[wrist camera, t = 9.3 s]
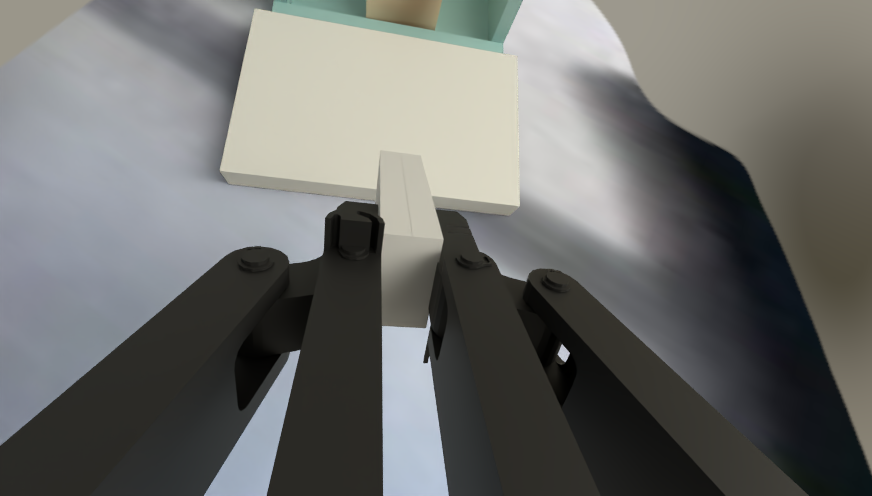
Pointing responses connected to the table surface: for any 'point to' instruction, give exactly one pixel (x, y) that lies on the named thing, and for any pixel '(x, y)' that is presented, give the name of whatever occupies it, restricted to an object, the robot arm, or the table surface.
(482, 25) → the box
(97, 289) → the table surface
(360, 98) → the cream board
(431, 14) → the maple block
